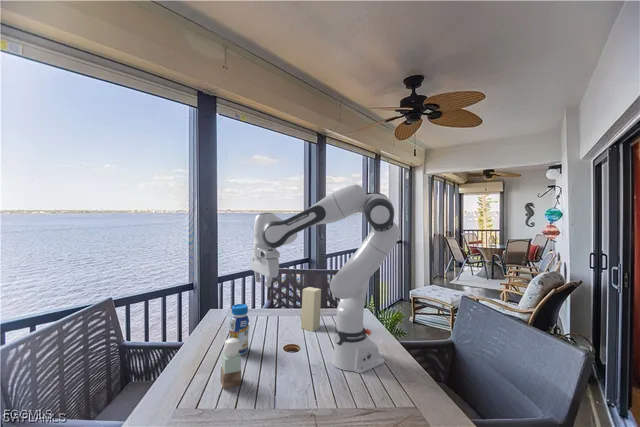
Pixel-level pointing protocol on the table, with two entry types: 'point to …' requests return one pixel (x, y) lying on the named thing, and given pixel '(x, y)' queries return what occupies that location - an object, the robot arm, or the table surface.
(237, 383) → the tower base
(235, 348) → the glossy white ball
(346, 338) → the robot arm
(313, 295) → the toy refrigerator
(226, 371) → the tower top
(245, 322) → the beverage bottle
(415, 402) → the table surface
